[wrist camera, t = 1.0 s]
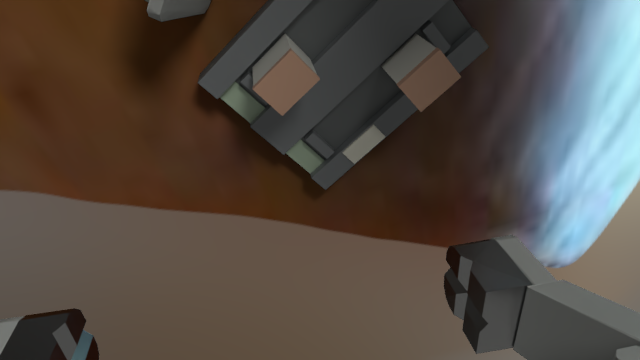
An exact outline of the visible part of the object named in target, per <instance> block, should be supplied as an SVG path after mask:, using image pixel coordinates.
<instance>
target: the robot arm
mask: <svg viewBox="0 0 640 360" xmlns="http://www.w3.org/2000/svg"><path fill="white" fill-rule="evenodd" d="M446 261H447V263H448V264H449V265H450V269H449V270H448V271H447V272H446V273H445V276H444V289H445V295H446V299H447V302H448V304H449V307H450V309H451V310H452V312H453V314H454V315H456V316H457V317H459V318H461V319H462V320H464V323H463V332H464V333H465V335H466V337H467V339H468V340H469V342H470V344H471V345H472V347H473V349H474V351H475V352H476V354H477V353H484V352H490V351H496V350H502V349H508V348H513V349H514V350H515V351H516V352H517V353H519V354H520V355H521V356H523V357H524V358H526V359H527V360H640V313H638V312H636V311H634V310H632V309H629V308H627V307H625V306H622V305H620V304H618V303H616V302H613V301H611V300H609V299H606V298H604V297H602V296H599V295H597V294H595V293H592V292H590V291H588V290H586V289H583V288H581V287H579V286H577V285H574V284H572V283H570V282H567V281H565V280H559V281H557V280H556V279H555V278H554V277H553V276H552V275H551V274H550V273H549V272H548V271H547V269H546V268H545V267H544V266H543V265H542V264H541V263H540V262H539V261H538V260H537V259H536V258H535V256H534V255H533V254H532V253H531V252H530V251H529V250H528V249H527V248H526V247H525V246H524V245H523V244H522V242H521V241H520V240H519V239H518V238H517V237H515V236H513V235H507V236H502V237H497V238H491V239H488V240H482V241H476V242H470V243H465V244H459V245H453V246H449V248H448V250H447V255H446ZM85 323H86V319H85V318H84V316H83V314H82V312H81V310H79V309H67V310H61V311H54V312H47V313H40V314H33V315H26V316H23V317H15V318H8V319H1V320H0V360H99V351H98V347H97V343H96V341H95V338H94V336H93V335H91V334H89V333H88V332H86V331H84V330H83V328H84V326H85Z"/></svg>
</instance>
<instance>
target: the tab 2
mask: <svg viewBox="0 0 640 360" xmlns="http://www.w3.org/2000/svg"><path fill="white" fill-rule="evenodd" d="M381 67H382V68H383V69H384V70H385V71H386V72H387V74H388V75H389V76H390V77H391V78H392V79H393V80H394V81H395V83H396V85H397V86H398V87H399V88H400V89H401V90H402V91H403V93H404V94H405V95H406V96H407V97H408V98H409V99H410V100H411V102H412V103H413V104H414V105H415V106H416V107H417V108H418V109H419V111H420V112H422V111H423V110H424V109H425V108H426V107H428V106H429V105H430V104H431V103H432V102H433V101H435V100H436V99H437V98H438V97H439V96H440V95H441V94H443V93H444V92H445V91H446V90H447V89H448V88H449V87H451V86H452V85H453V84H454V83H455V82H456V81H458V80H459V79H460V78H461V76H460V75H459V73H458V72H457V71H456V69H455V68H454V67H453V65H452V64H451V63H450V62H449V60H448V59H447V58H446V56H445V55H444V54H443V53H442V51H441V50H440V49H439V48H436V47H434V46H433V45H432V44H430V43H429V42H427V41H426V40H425V39H423V38H422V37H420V36H419V35H417V34H416V33H415V34H414V35H413V36H412V37H411V38H410V39H409V40H408V41H407V42H406V43H404V44H403V45H402V46H401V47H400V48H399V49H398V50H397V51H396V52H395V53H394V54H393V55H392V56H391V57H389V58H388V59H387V60H386V61H385V62H384V63H383V64H382V65H381Z"/></svg>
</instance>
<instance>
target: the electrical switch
mask: <svg viewBox="0 0 640 360" xmlns="http://www.w3.org/2000/svg"><path fill="white" fill-rule="evenodd" d="M145 1H146V2H148V7H147V12H148V16H149V17H152V18H154V19H156V20H159V21H161V22H163V21H168V20H173V19H178V18H183V17H188V16H193V15H198V14H203V13H205V12H206V10H207V9H208V7H209V5H210V2H211V0H145Z"/></svg>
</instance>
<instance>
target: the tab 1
mask: <svg viewBox="0 0 640 360" xmlns="http://www.w3.org/2000/svg"><path fill="white" fill-rule="evenodd" d="M252 70H253V90H254V91H255V92H256V93H257V94H258V95H259V96H260V97H262V98H263V99H264V100H265V101H266V102H267V103H268V104H269V105H271V106H272V107H273V108H274V109H275V110H276V111H277V112H278V113H279V114H281V115H282V116H283V115H284V114H285V113H286V112H287V111H288V110H289V109H290V108H291V107H292V106H293V105H294V104H295V103H296V102H297V101H298V100H299V99H300V98H301V97H302V96H304V95H305V94H306V93H307V92H308V91H309V90H310V89H311V88H312V87H313V86H314V85H315V84H316V83H317V82H318V81H319V80H320V78H319V76H318V75H317V73H316V71H315V69H314V66H313V64H312V62H311V60H310V58H309V57H308V56H307V55H306V54H305V53H304V52H303V51H302V50H301V49H300V48H299V47H298V46H297V45H296V44H295V43H294V42H293V41H292V40H291V39H290V38H289V37H288V36H287V35H286V34H284V35H283V36H282V37H281V38H280V39H279V40H278V41H277V42H276V43H275V44H274V45H273V46H272V47H271V48H270V49H269V51H268V52H267V53H266V54H265V55H264V56H263V57H262V58H261V59H260V60H259V61H258V62H257V63H256V64H255V65H254V66H253V67H252Z"/></svg>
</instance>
